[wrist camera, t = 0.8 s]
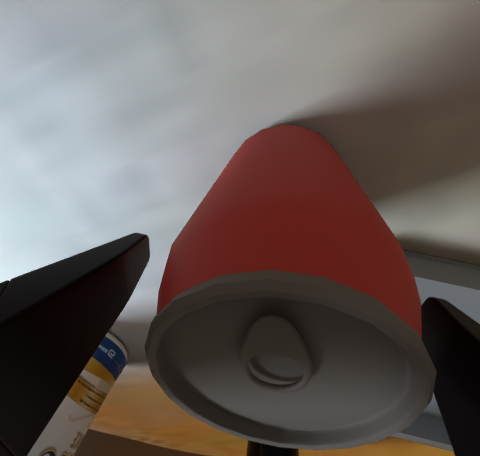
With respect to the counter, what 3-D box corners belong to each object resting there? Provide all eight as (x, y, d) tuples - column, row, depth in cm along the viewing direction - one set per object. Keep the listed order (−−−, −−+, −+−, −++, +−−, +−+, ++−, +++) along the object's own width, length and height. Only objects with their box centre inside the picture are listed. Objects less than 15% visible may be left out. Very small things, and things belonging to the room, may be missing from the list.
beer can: (346, 116, 13) (573, 256, 3) (335, 226, 16) (420, 479, 6) (222, 128, 14) (57, 254, 4) (236, 228, 17) (165, 439, 7)
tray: (471, 425, 25) (490, 460, 22) (292, 382, 26) (293, 411, 24) (657, 302, 15) (722, 341, 13) (362, 241, 16) (374, 268, 14)
